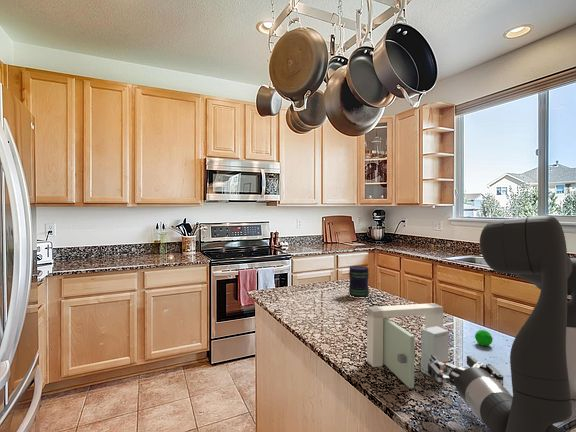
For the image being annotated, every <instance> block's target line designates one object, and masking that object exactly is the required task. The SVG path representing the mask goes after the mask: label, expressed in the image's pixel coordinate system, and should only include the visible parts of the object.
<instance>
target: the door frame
mask: <svg viewBox="0 0 576 432" xmlns="http://www.w3.org/2000/svg"><path fill="white" fill-rule="evenodd" d="M366 309H367V311H366V312H367V313H366V314H367V316H366V318H367V319H366V320H367V321H366V324H367V325H366V339H367V340H366V362H368V364H369V365H370V366H371V367H372V368H379V367H383V365H384V363H383V318H396V317H397V318H398V317H399V318H400V317H411V316H412V317H414V316H415V317H416V316H425V328H424V329H426V328H429V327H436V326H438V327H440V328H443V329H444V327H443V325H444V307H443V306H441V305H439V304H437V303H434V302H432V303H429V302H428V303H417V304H416V303H415V304H413V303H412V304H398V305H397V304H396V305H384V306H383V305H382V306H368V307H367V308H366Z"/></svg>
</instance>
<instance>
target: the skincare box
mask: <svg viewBox="0 0 576 432" xmlns="http://www.w3.org/2000/svg"><path fill="white" fill-rule="evenodd" d="M449 340H450V331H449V330H447V329H444V327H443V328H440V327H438V326H436V327H429V328H426V329H425V328H422V329H421V342H420V343H421V346H420V347H421V348H420V349H421V350H420V351H421V353H420V372H421V373H423V374H425V375H427V376H428V377H430V378H431V376H430V375H429V374H428V362H430V357H431V355H435V356H436V357H437V358H438V359H439V361H440V362H442V363H449V351H450V350H449V346H450V344H449V343H450V342H449ZM440 370H441V371H443V367H441V366H440Z"/></svg>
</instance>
